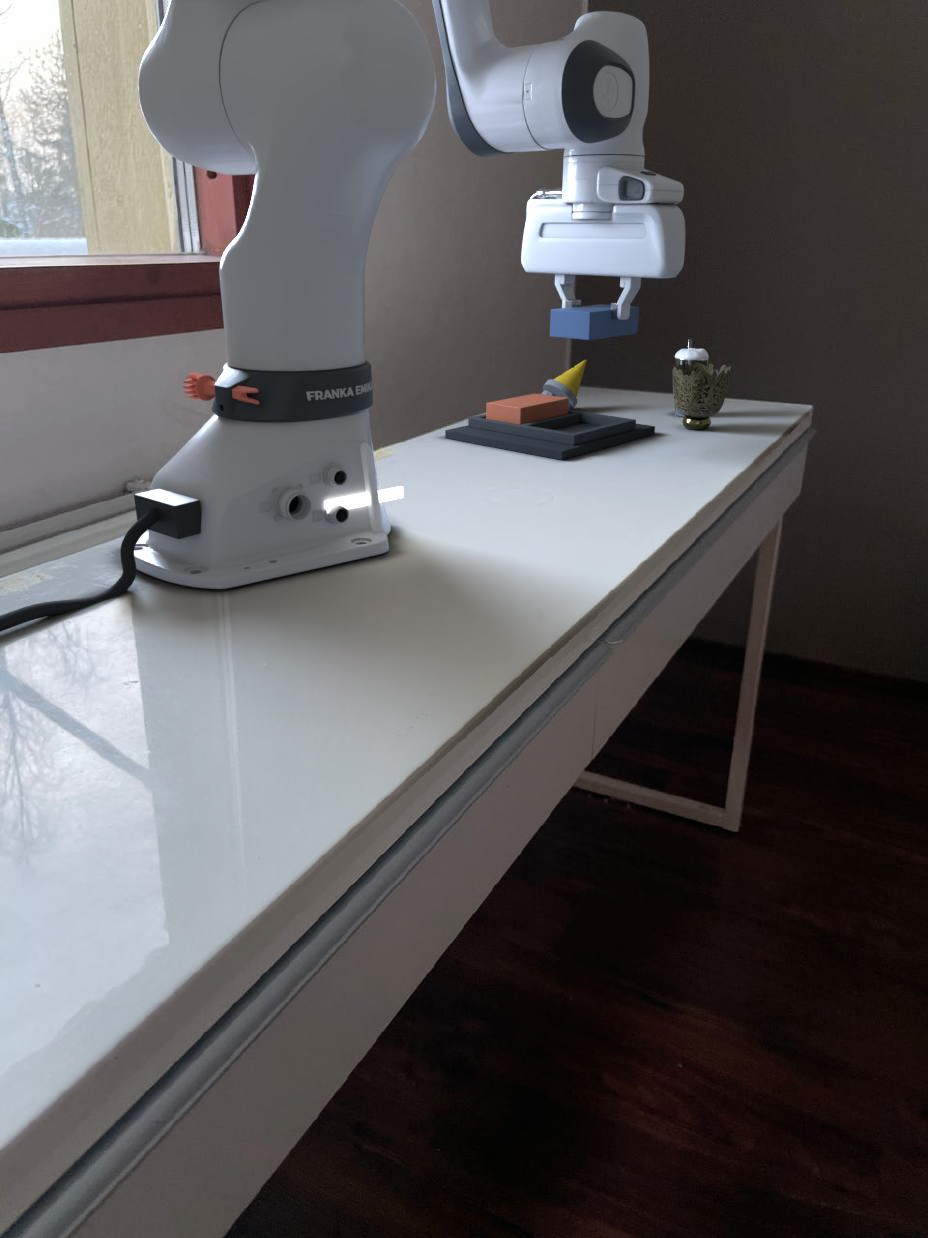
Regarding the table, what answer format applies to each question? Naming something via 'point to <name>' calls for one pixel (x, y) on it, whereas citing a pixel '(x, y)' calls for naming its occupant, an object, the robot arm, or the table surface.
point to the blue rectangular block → (591, 322)
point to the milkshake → (690, 359)
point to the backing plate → (552, 434)
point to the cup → (699, 393)
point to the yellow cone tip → (566, 384)
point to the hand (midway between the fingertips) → (595, 317)
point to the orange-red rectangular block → (527, 408)
